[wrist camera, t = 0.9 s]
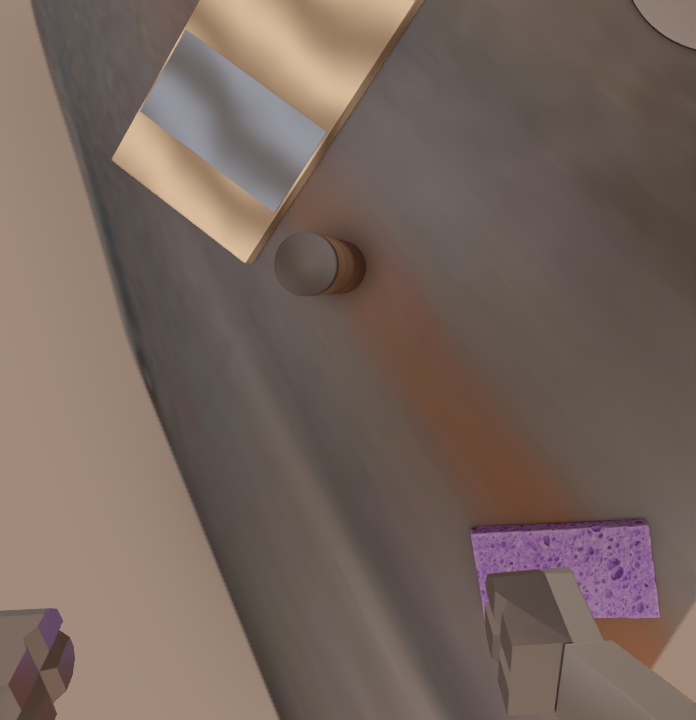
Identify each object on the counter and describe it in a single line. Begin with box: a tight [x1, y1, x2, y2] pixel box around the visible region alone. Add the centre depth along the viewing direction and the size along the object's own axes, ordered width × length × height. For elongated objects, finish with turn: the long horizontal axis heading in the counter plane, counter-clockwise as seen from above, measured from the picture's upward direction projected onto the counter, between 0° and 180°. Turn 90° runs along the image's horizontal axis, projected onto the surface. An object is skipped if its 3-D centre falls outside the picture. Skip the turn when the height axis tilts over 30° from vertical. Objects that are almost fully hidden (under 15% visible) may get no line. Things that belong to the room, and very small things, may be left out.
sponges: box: [470, 519, 660, 618], centre depth 45 cm, size 7×13×2 cm, turn 99°
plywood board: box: [112, 0, 424, 264], centre depth 46 cm, size 24×14×2 cm, turn 144°
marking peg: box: [274, 232, 365, 296], centre depth 43 cm, size 4×4×9 cm
